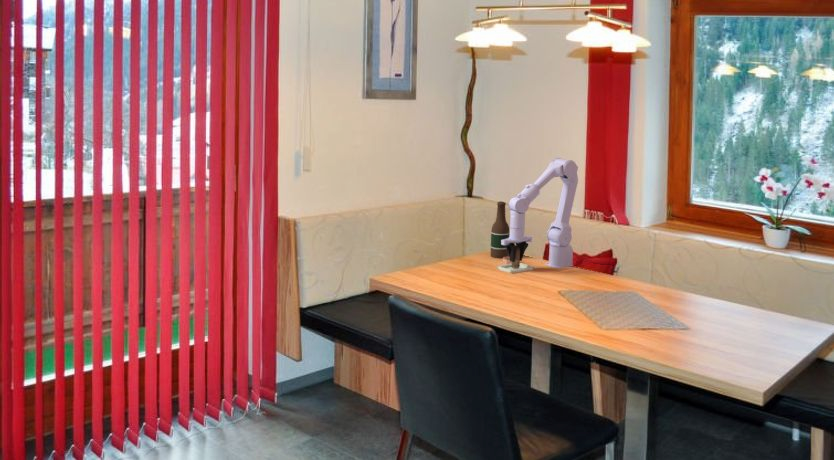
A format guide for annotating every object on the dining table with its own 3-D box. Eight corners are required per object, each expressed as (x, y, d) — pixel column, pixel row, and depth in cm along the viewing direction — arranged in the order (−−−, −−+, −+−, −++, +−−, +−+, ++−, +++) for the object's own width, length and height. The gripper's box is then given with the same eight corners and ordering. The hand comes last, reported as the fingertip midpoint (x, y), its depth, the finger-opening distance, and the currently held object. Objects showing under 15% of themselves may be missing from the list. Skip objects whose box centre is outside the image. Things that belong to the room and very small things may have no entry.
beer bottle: (506, 255, 380) (509, 200, 376) (509, 259, 373) (512, 203, 368) (489, 255, 380) (491, 200, 375) (491, 259, 372) (493, 203, 368)
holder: (511, 261, 369) (511, 256, 368) (521, 265, 364) (521, 259, 363) (499, 263, 365) (499, 257, 365) (509, 266, 360) (509, 260, 360)
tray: (519, 266, 361) (519, 262, 361) (534, 271, 354) (534, 267, 354) (496, 269, 355) (496, 266, 354) (511, 274, 347) (511, 270, 347)
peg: (516, 265, 356) (516, 247, 355) (521, 267, 354) (521, 249, 352) (509, 266, 355) (510, 248, 353) (514, 268, 352) (515, 249, 351)
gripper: (524, 224, 358) (523, 256, 361) (496, 227, 350) (495, 260, 353) (536, 227, 352) (534, 260, 355) (508, 230, 344) (506, 264, 347)
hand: (515, 260), depth 354 cm, fingers closed on peg, 3 cm apart
